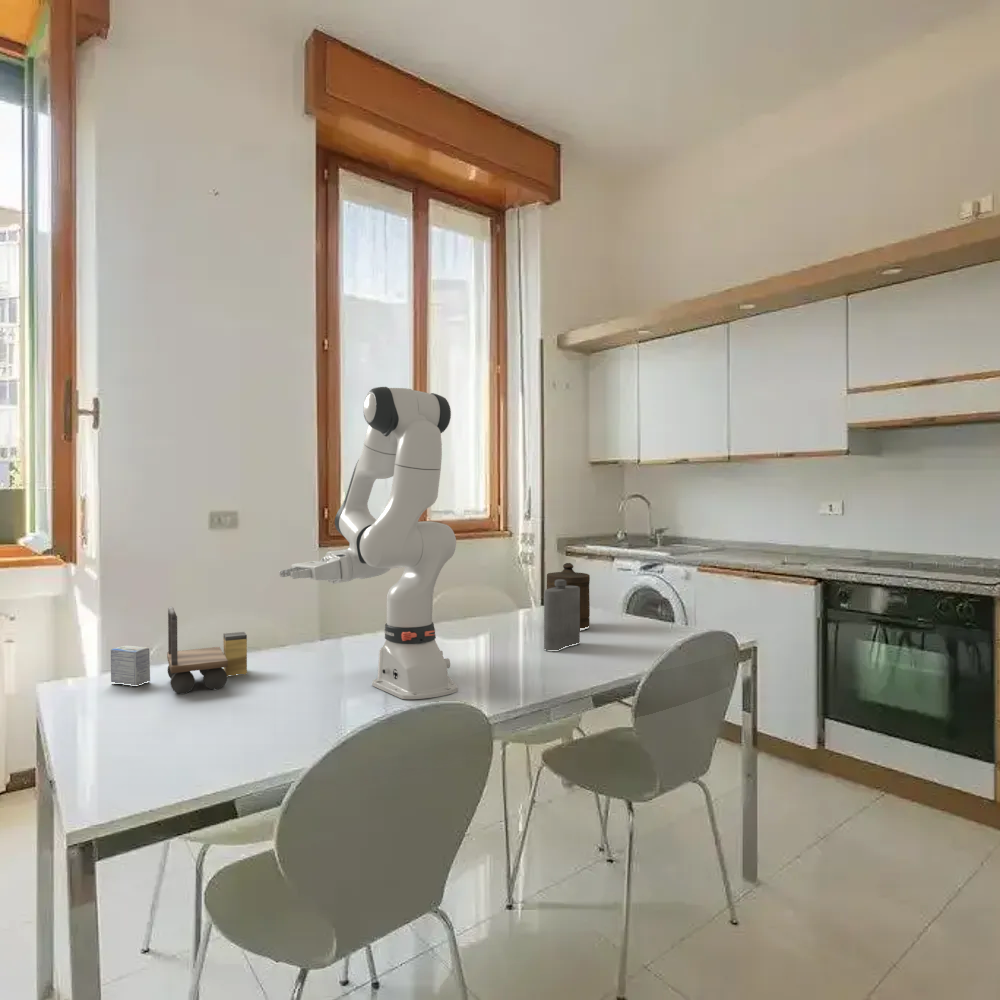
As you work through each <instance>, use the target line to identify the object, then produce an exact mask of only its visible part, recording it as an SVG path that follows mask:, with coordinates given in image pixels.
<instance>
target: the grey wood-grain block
mask: <svg viewBox="0 0 1000 1000" xmlns="http://www.w3.org/2000/svg"><path fill="white" fill-rule="evenodd" d="M150 654H151V653H150V648H149V647H148V646H147V647H145V646H137V645H122V646H118V647H114V648H112V649H110V683H111V682H115V683H124V684H131V685H139V684H142V683H144V682H147V681H150V682H151V663H150V661H151V660H150V659H151V658H150V657H151V656H150Z"/></svg>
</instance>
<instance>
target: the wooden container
mask: <svg viewBox="0 0 1000 1000" xmlns="http://www.w3.org/2000/svg"><path fill="white" fill-rule="evenodd" d="M562 567H563V570H562V571H557V572H556V571H555V572H549V573H547V574H546V589H549V588H554V587H556V586H555V580H558V579H562V580H566V586H578V587H580V628H585V627H588V626H589V627H590V613H591V611H590V610H591V608H590V606H591V605H590V601H591V600H590V582H591V581H590V579H591V577H590V574H589V573H584V572H576V571H574V565H573V564H572V563H571V562H565V563H564V564H563V565H562Z"/></svg>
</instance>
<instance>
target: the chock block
mask: <svg viewBox="0 0 1000 1000" xmlns="http://www.w3.org/2000/svg"><path fill="white" fill-rule="evenodd" d="M247 635H248V634H246V632H245V631H237V632H226V633H223V635H222V637H223V641H222V642H223V644H222V645H223V654H224V655H225V657H226V659H227V660H228V667H223V669H224V670H225V672H226V674H227V676H228V675H236V674H244V675H247V674H248V659H247V658H248V642H247V641H248V636H247ZM246 673H247V674H246ZM236 676H237V675H236ZM228 677H229V676H228Z"/></svg>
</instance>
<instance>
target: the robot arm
mask: <svg viewBox="0 0 1000 1000" xmlns="http://www.w3.org/2000/svg"><path fill="white" fill-rule="evenodd" d="M451 411H452V410H451V406H450V403H449V401H448V399H446V397H444V396H442V395H440V394H437V393H434V392H433V393H428V392H425V391H420V390H414V389H412V388H407V387H406V388H403V387H388V386H379V387H373V388H371V389H370V390H369V392H367V394H366V396H365V398H364V403H363V417H364V420H365V423H367V424H368V426H367V430H366V433H365V437H364V441H363V446H362V450H361V454H360V456H359V458H358V460H357V461H356V463H355V466H354V469H353V472H352V475H351V478H350V482H349V485H348V488H347V491H346V492H347V493H346V495H345V497H344V501H343V503H342V504H341V506H340V508H339V509H338V510H337V513H336V515H335V518H334V526H335V529H336V531H337V532H338V533H339V534H340V535H341V536H342V537H343V538H345V540H346V541H347V542H348V543H349V547H348V548H347V549H346V548H345V549H339V550H332V551H331V550H330V551H327V552H326V553H325V555H324V556H323V557H321V559H320V560H314V561H313V560H311V561H306V562H305V561H304V562H297V563H292V564H291V565H290V567H289V568H286V569H281V570H279V571H278V574H279V575H278V576H279V577H281V578H285V577H290V578H291V579H292V580H293V579H294V580H297V579H307V580H315V581H328V582H329V583H330V584H331V585H334V584H340V583H346V582H347V583H348V582H351V581H353V580H355V579H359V580H360V579H361V580H363V579H370V578H375V577H379V576H382V575H383V574H386V573H388V572H389V571H390V570H391V569H399V568H402V569H403V568H404V570H403V571H402V575H401V577H400V578H399V579H398V581H397V582H395V583H393V585H392V586H390V588H389V589H388V592H387V595H386V623H385V625H384V639H385V642H384V644H383V646H382V647H381V648H380V649H379V652H378V668H377V678H376V679H373V680H372V682H371V686H372V687H375V688H377V689H379V690H381V691H384V692H386V693H388V694H390V695H392V696H395V697H396V698H399V699H402V700H422V699H431V698H438V697H443V696H446V695H451V694H453V693H457V692H459V688H458V685H457V684H456V683H455V682H454V681H453V680H452V678H451V677H450V676H449V675H448V669H450V668H451V660H450V658H444V656H443V655H444V652H443V650H441V649H440V647H439V646H438V644H437V642H436V641H437V640H436V639H437V638H436V637H437V636H436V628H435V623H434V622H433V603H434V601H433V598H434V590H435V587H436V586H435V585H436V584H437V580H438V577H439V575H440V574H441V571H442V569H443V568H444V566H445V565H446V564H447V562H448V561H449V560H450V559H452V557H453V556H454V554H455V552H456V549H457V538H456V534H455V532H454V530H453V529H452V527H450V525H448V524H446V523H442V522H437V521H431V520H428V521H419V519H420V518H421V516H422V515H423V513H424V512H425V511H426V510H427V509H429V508H430V507H432V506H433V505H434V504H435V503H436V502H437V499H438V496H439V490H440V489H439V487H440V478H441V470H442V459H443V458H442V457H443V454H442V453H443V451H442V449H443V448H442V445H443V444H442V434H443V433H444V432H445V430H446V429H448V427H449V425H450V421H451V416H452V412H451ZM389 478H390V479H391V478H392V484H391V491H390V495H389V498H388V501H387V503H386V505H385V507H384V509H383V510H382V512H381V514H380V515H379V517H378V518H375V517H374V516H373V515H372V514H371V511H370V510H369V507H368V502H369V501H370V500H369V499H370V496H371V492H372V489H373V487H374V483H375V481H376V480H386V479H389Z"/></svg>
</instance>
